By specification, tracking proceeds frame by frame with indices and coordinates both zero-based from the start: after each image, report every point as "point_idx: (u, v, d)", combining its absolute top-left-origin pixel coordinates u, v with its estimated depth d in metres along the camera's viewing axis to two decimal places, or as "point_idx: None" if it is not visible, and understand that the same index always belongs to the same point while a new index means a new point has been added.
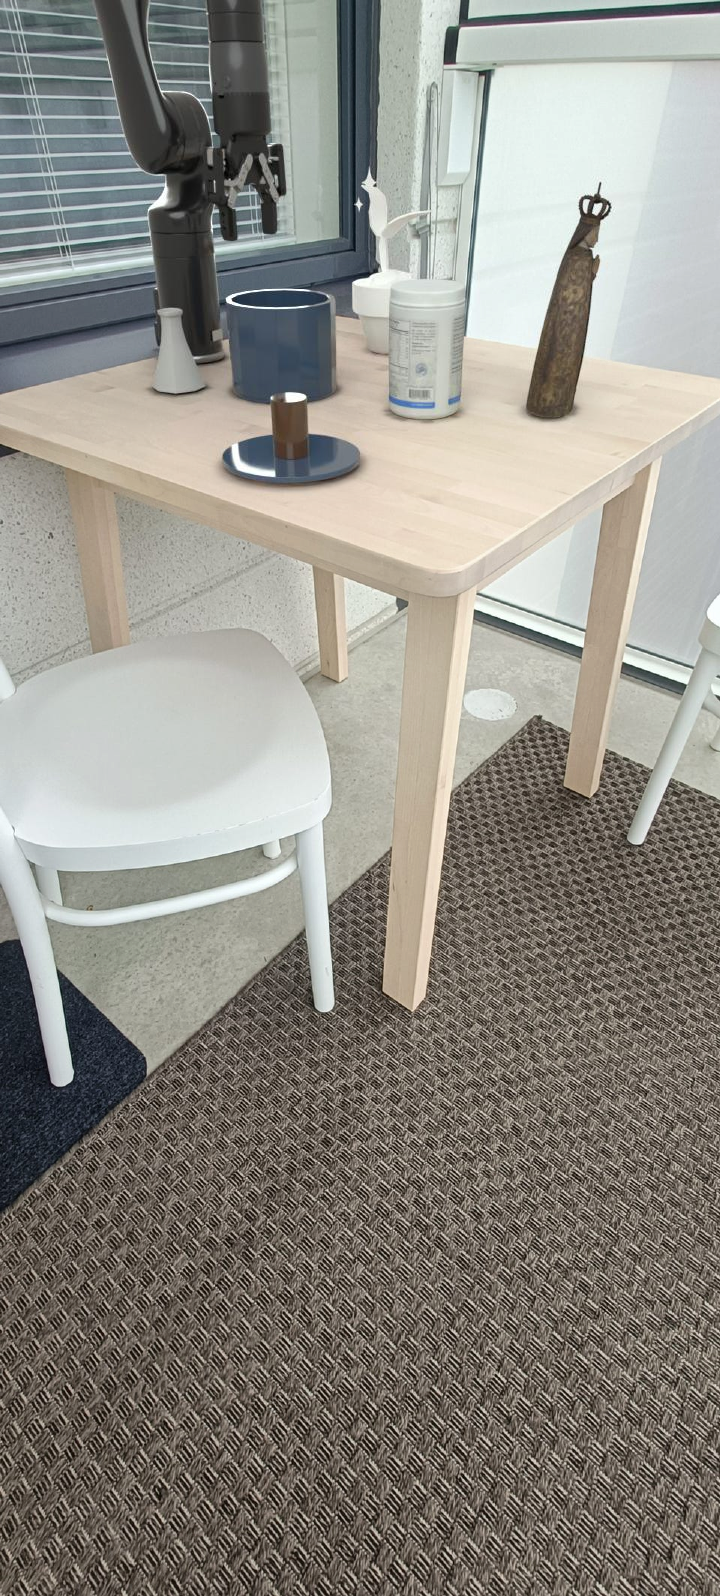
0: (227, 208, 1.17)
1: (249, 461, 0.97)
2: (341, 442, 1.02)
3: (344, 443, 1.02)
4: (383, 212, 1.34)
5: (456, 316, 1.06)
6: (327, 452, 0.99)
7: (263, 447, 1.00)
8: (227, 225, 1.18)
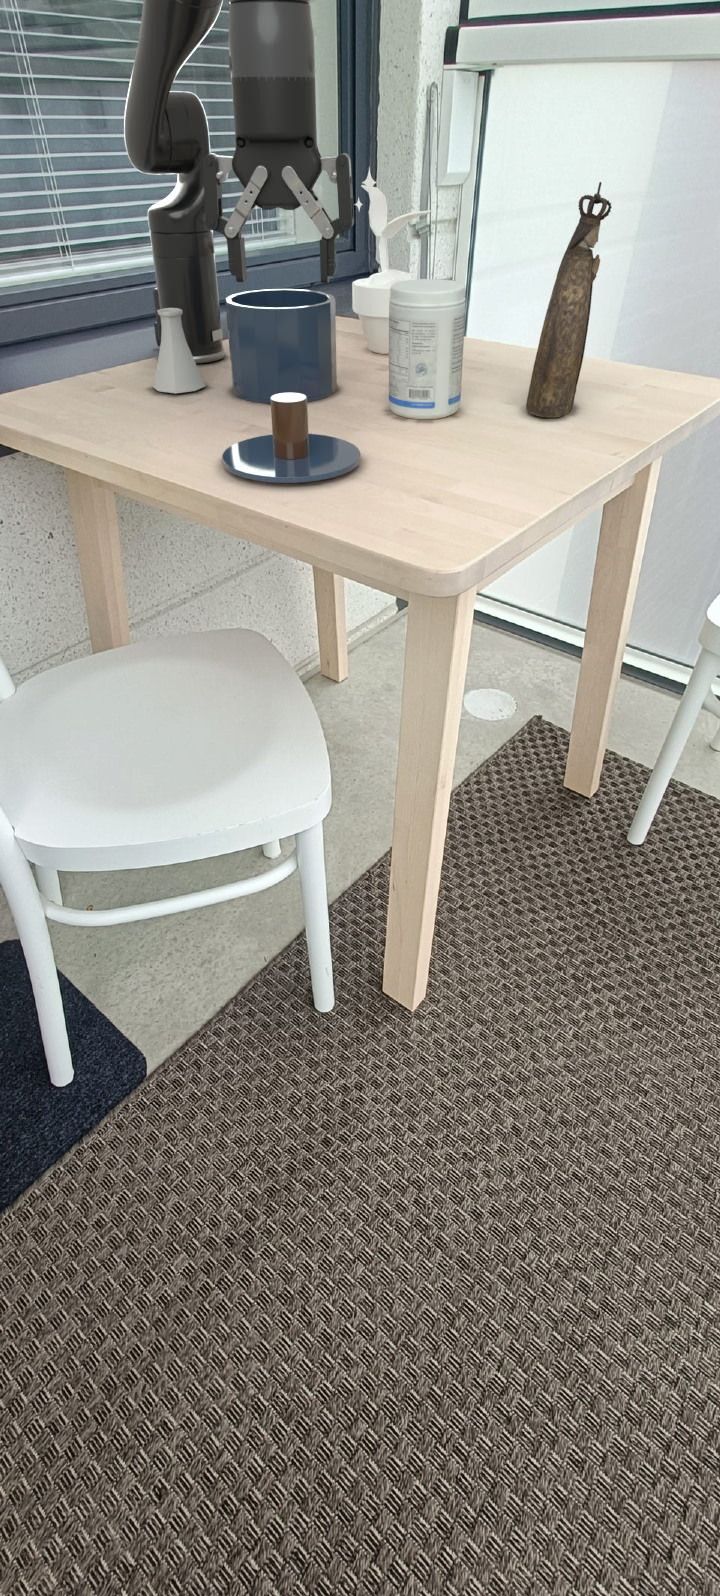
0: (228, 237, 0.85)
1: (249, 461, 0.97)
2: (341, 442, 1.02)
3: (344, 443, 1.02)
4: (383, 212, 1.34)
5: (456, 316, 1.06)
6: (327, 452, 0.99)
7: (263, 447, 1.00)
8: (229, 260, 0.87)
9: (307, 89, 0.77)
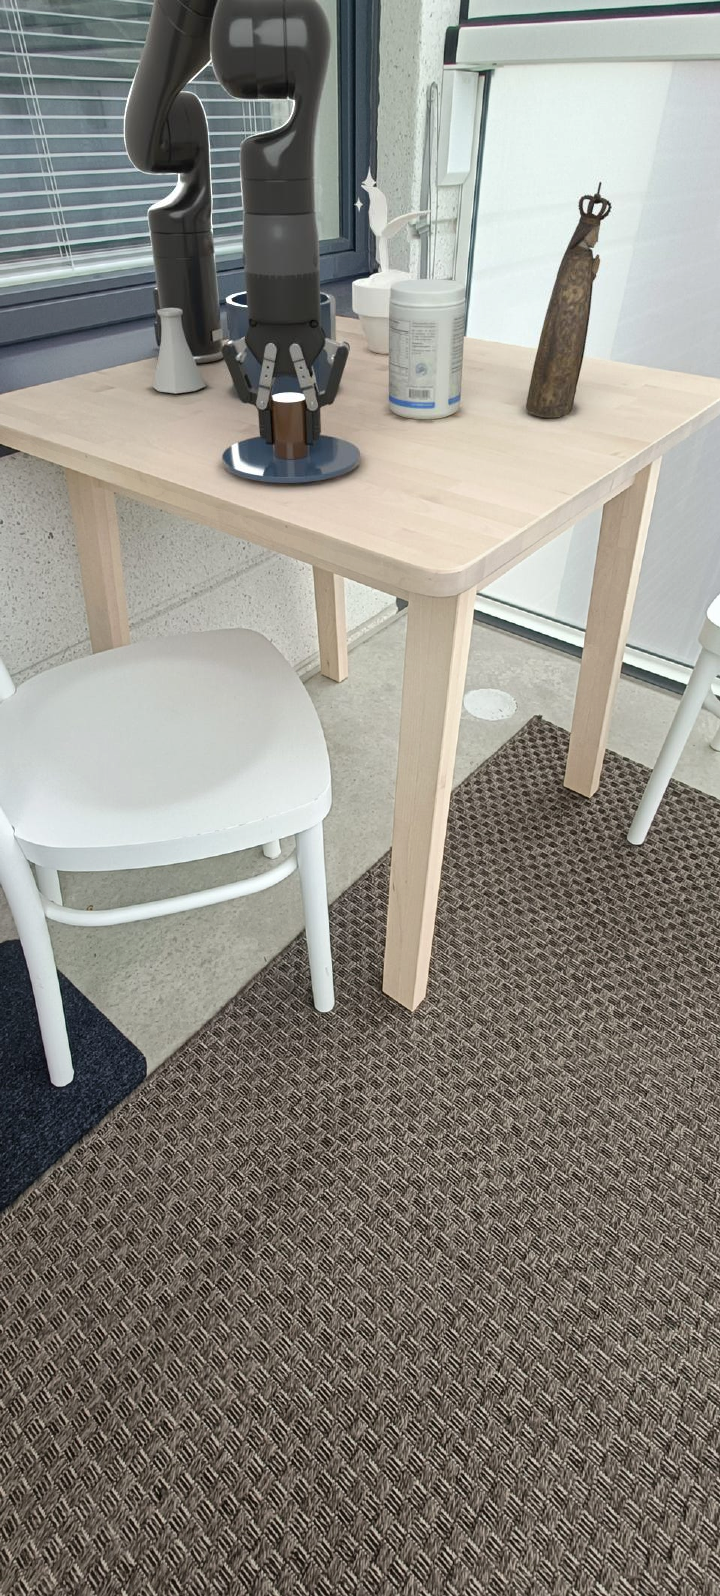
0: (259, 408, 0.95)
1: (249, 461, 0.97)
2: (341, 442, 1.02)
3: (344, 443, 1.02)
4: (383, 212, 1.34)
5: (456, 316, 1.06)
6: (327, 453, 0.99)
7: (263, 447, 1.00)
8: (259, 426, 0.96)
9: (312, 282, 0.86)
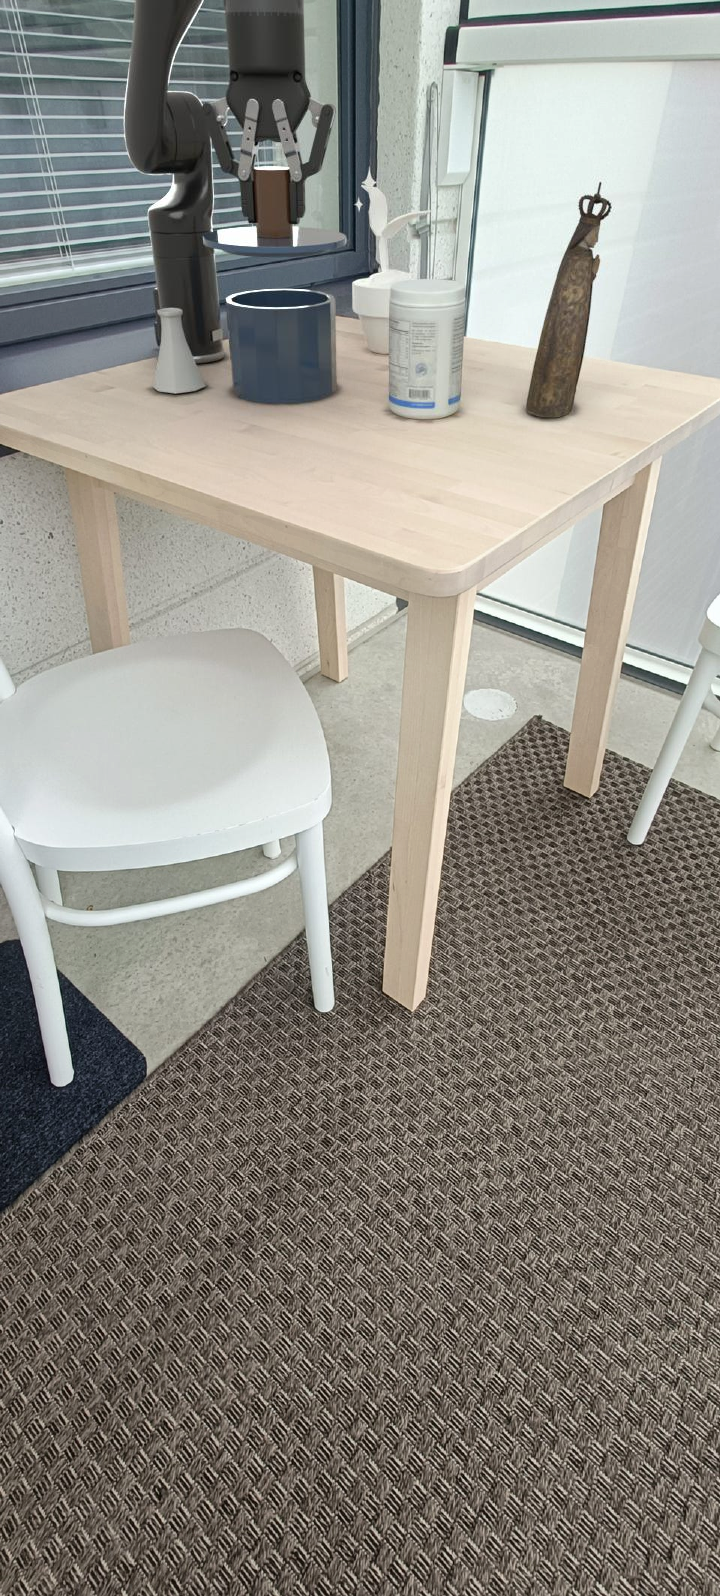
0: (241, 180, 0.92)
1: (230, 238, 0.93)
2: (327, 231, 0.98)
3: (330, 231, 0.98)
4: (383, 212, 1.34)
5: (456, 316, 1.06)
6: (312, 236, 0.95)
7: (246, 232, 0.97)
8: (241, 202, 0.93)
9: (296, 25, 0.83)
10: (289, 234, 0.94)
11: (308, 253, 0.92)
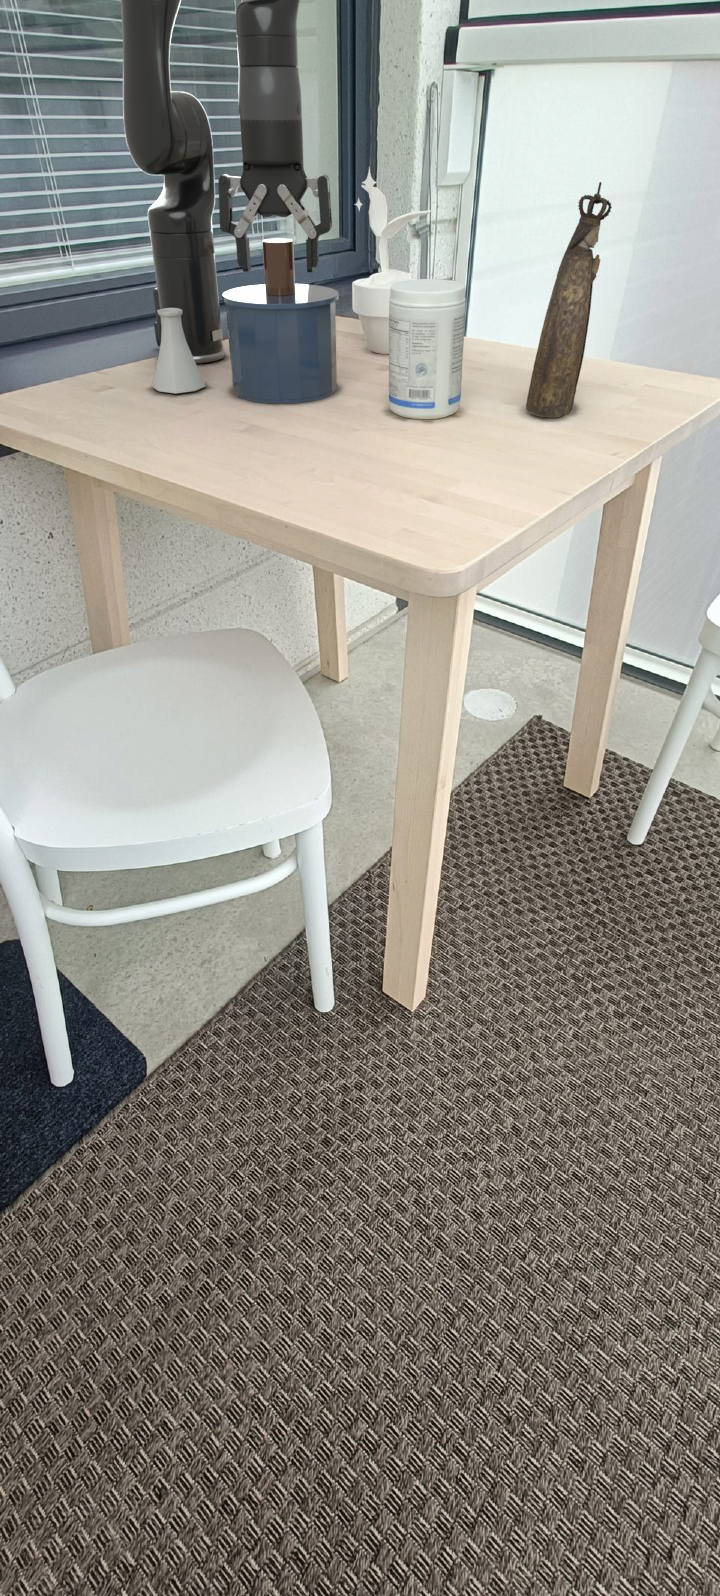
0: (237, 237, 1.13)
1: (245, 296, 1.15)
2: (323, 288, 1.20)
3: (325, 288, 1.20)
4: (383, 212, 1.34)
5: (456, 316, 1.06)
6: (310, 292, 1.17)
7: (257, 290, 1.19)
8: (237, 254, 1.14)
9: (296, 128, 1.05)
10: (292, 292, 1.16)
11: None
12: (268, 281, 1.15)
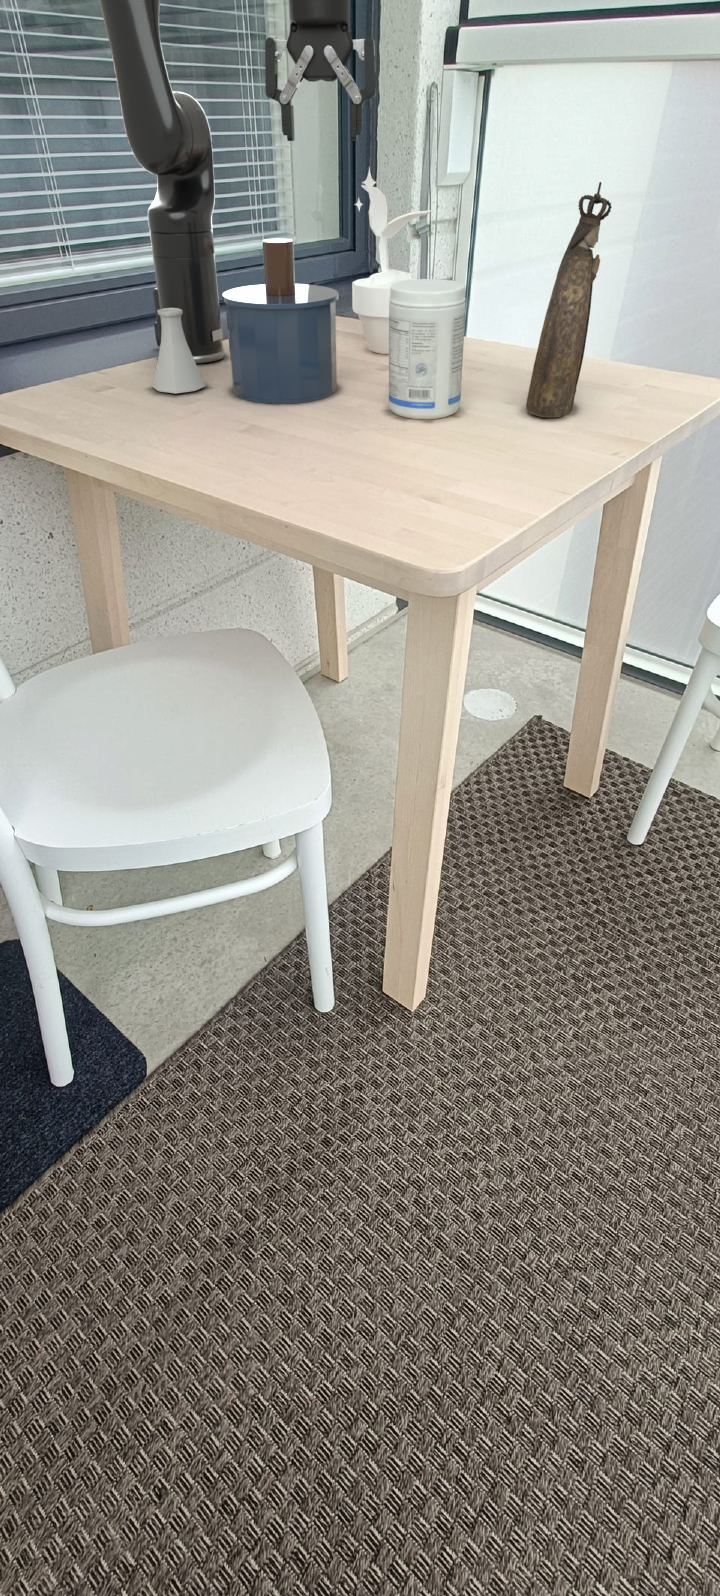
0: (282, 104, 1.14)
1: (245, 296, 1.15)
2: (323, 288, 1.20)
3: (325, 288, 1.20)
4: (383, 212, 1.34)
5: (456, 316, 1.06)
6: (310, 292, 1.17)
7: (257, 290, 1.19)
8: (282, 123, 1.15)
9: None
10: (292, 292, 1.16)
11: None
12: (268, 281, 1.15)
